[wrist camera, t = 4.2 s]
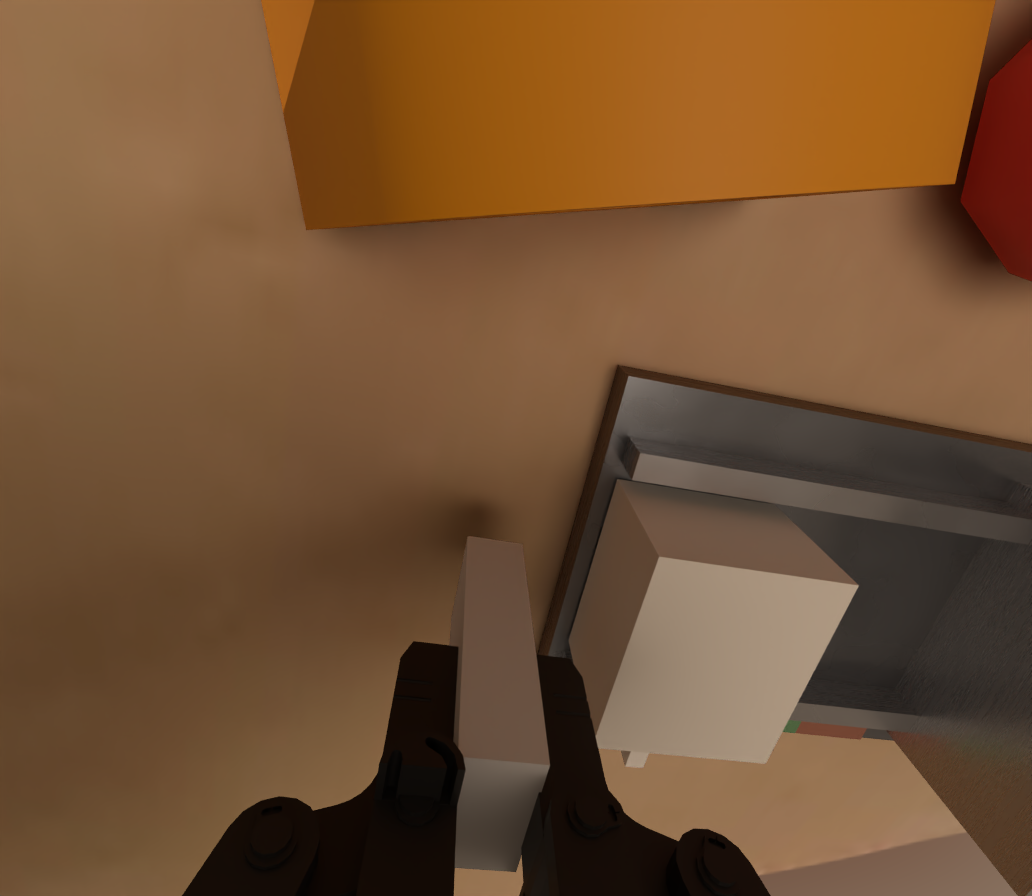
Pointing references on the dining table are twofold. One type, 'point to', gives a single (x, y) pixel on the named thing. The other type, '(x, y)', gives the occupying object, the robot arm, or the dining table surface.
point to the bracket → (616, 102)
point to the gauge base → (865, 573)
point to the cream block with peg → (701, 624)
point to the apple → (1005, 166)
